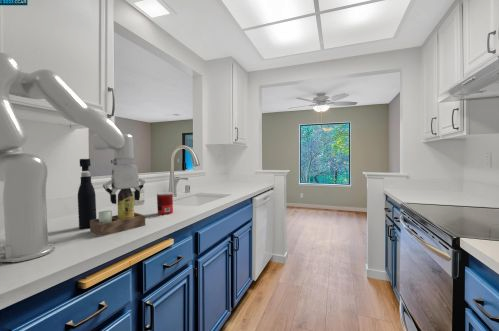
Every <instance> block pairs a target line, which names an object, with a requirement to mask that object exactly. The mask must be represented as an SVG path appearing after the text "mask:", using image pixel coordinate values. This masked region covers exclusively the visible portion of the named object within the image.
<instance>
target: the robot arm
mask: <svg viewBox="0 0 499 331" xmlns="http://www.w3.org/2000/svg"><path fill="white" fill-rule="evenodd" d="M10 95H11V96H16V97H21V98H25V99H26V98H27V99H32V100H45V101H46V102H47V103H48V104H49V105H51V107H52V108H54V109H55V110H56V111H57V113H59V114H60V115H61V116H62V117H63V118H64V119H65V120H66V121H69V122H72V123H74V124H77V125H79V126H84V127H85V128H88V129H89V130H91V131H92V132H94V134H93V135H92V136H90V139H89V143H90V145H91V147H92V148H93V149H94V150H96V151H101V152H106V151H113V157H114V158H113V159H112V160H110V164H113V165H112V169H111V170H112V171H111V175H110V176H111V179H110V180H108V181H106V182H105V183H103V184H102V187H103V189H104V190H105V191H106V193H107V194H109V196H110V202H111V204H113V205H115V204H116V205H117V194H116V193H117V191H118V190H121V189H129V188H130V189H134V192H133V193H134V194H133V196H134V200H135V201H140V198H141V191H142V189H143V188H144V185H145V184H146V181H145V180H143V179H142V178H140V175H139V172H138V166H137V165H135V158H134V157H135V155H134V154H135V153H134V137H133V135H132V134H129V133H122V132H121V130H120V129H119V128H118V127H117V126H116V124H115V123H113V122H112V121H111V120H110V119H109V118H108V117H106V115H104V114H101V113H100V112H99V111H97V110H95V109H94V108H92V107H91V106H89V105H87V104H86V102H84V100H83V99H81V98H80V97H79V95H78V94H77V93H76V92H75V91H74V90H73V89H72V88H71V87H70V86H69V84H68V83H66V82H65V80H64V79H63V78H62V77H61V76H60V75H58V74H57V73H56V72H55V71H53V70H50V69H44V68H43V69H38V70H36V71H33V72H29V73H28V72H24V71H23V72H22V70H21V67H20V64H19V63H18V61H16V59H15V58H13V57H12V56H11V55H9V54H7V53H5V52H2V51H1V52H0V182H3V189H2V204H3V205H2V206H3V218H4V219H3V220H4V237H5V241H4V242H3V243H2V245H1V246H0V263H2V262H12V263H18V262H24V261H28V260H33V259H36V258H40V257H43V256H45V255H48V254H50V253H52V252H53V251H54V250H55V248H56V245H55V244H53V243H49V235H48V234H49V232H48V213H47V197H46V196H47V195H46V193H47V190H46V189H47V187H46V186H47V180H48V179H47V178H48V165H47V164H46V161H44V159H43V158H41V157H40V156H38V155H37V154H34V153H31V152H23V150H22V149H23V148H22V147H23V146H24V145H25V144H26V142H28V141H27V140H28V136H27V135H28V134H27V132H26V129H25V127H24V126H23V124H22V121H21V120H20V118H19V116H18V115H17V112H16V110H15V108H14V106H13V103H12V102H11V98H10ZM110 185H111V189H110V187H109V186H110Z"/></svg>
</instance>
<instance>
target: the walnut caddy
mask: <svg viewBox="0 0 499 331" xmlns="http://www.w3.org/2000/svg"><path fill="white" fill-rule="evenodd" d="M144 226H146V215H145V214H141V213H137V212H134V217H132V218H128V219H123V220H119V219H118V214H115V215H112V222H109V223H104V224H101V223H99V218H96V219H94V220H90V228H89V231H90V232H91V233H93V234H96V235H97V236H99V237H104V236H108V235H112V234H116V233H117V234H118V233H120V232H124V231H125V232H126V231H128V230H131V229H136V228H141V227H144Z"/></svg>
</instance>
